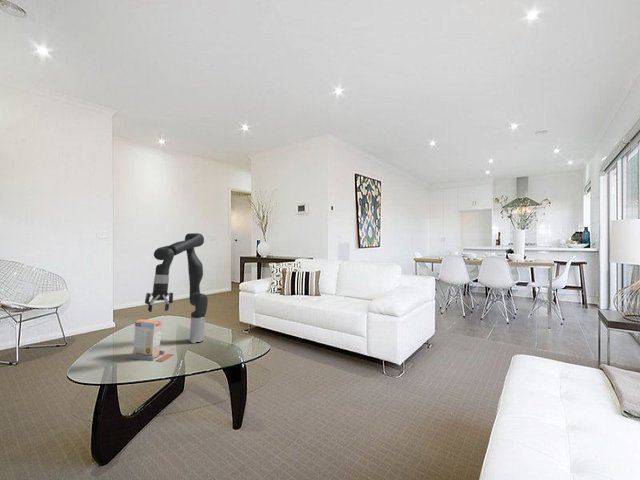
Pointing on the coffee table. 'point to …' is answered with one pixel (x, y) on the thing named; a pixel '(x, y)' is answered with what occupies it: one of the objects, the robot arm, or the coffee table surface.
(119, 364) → the coffee table surface
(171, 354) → the pad
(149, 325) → the cracker box
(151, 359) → the channel
